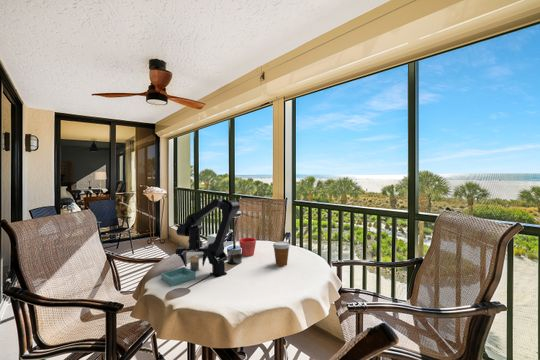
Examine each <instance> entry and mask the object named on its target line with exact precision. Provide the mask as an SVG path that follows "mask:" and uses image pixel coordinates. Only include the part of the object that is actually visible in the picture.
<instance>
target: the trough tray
mask: <svg viewBox="0 0 540 360" xmlns="http://www.w3.org/2000/svg"><path fill="white" fill-rule="evenodd" d="M160 276H161V277H160V279H161V280H162V282H164V283H166V284H168V285H169V286H171V287H174V286H178V285H181V284H184V283H188V282H190V281H193V280H196V279H197V277H196V276H197V274H196V271H191V270H190V269H189V268H187V267H185V266H183V267H179V268H176V269H172V270H167V271H164V272H161V273H160Z"/></svg>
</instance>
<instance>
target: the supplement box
mask: <svg viewBox="0 0 540 360" xmlns="http://www.w3.org/2000/svg"><path fill="white" fill-rule="evenodd" d="M216 235H217V233H213V234H207V235H206V236H207V237H206V239H207V240H206V241H207V242H206V246H208V245H209V244H210V243H213V242H214V241H215V238H216Z"/></svg>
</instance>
